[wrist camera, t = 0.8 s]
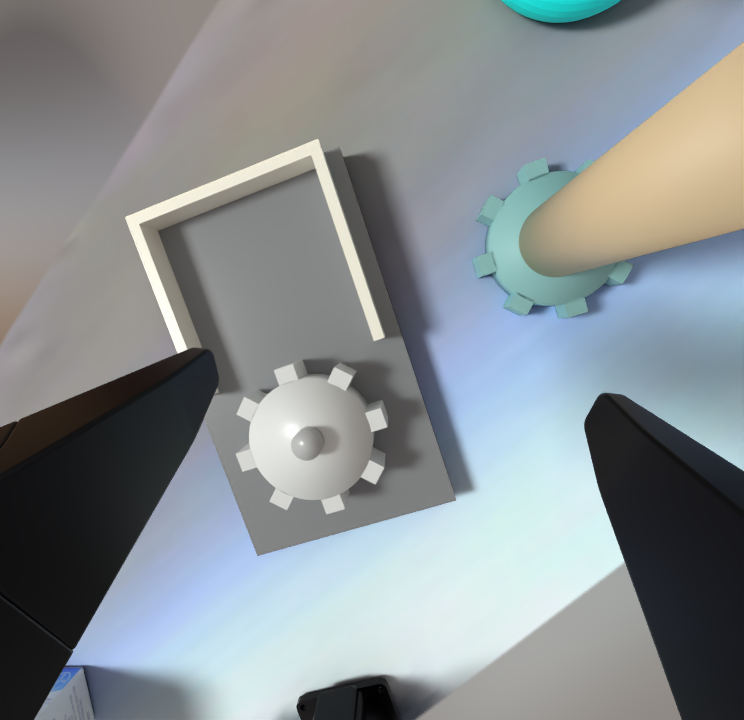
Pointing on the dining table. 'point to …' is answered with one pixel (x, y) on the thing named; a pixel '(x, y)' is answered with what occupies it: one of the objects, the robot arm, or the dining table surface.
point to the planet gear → (622, 200)
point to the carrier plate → (295, 348)
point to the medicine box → (68, 698)
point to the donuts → (559, 9)
